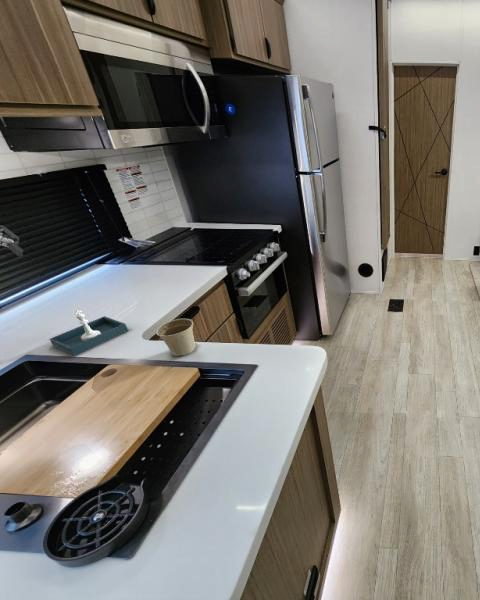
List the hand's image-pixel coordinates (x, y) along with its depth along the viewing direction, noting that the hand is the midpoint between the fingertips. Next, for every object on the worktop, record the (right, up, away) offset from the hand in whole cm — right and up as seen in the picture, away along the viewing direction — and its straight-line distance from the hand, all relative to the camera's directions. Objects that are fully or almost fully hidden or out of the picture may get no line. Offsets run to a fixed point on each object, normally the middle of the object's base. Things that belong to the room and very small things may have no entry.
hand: (3, 259), depth 97 cm
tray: (+16, -24, +10) cm, 31 cm away
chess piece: (+16, -24, +10) cm, 31 cm away
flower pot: (+51, -28, +4) cm, 58 cm away
